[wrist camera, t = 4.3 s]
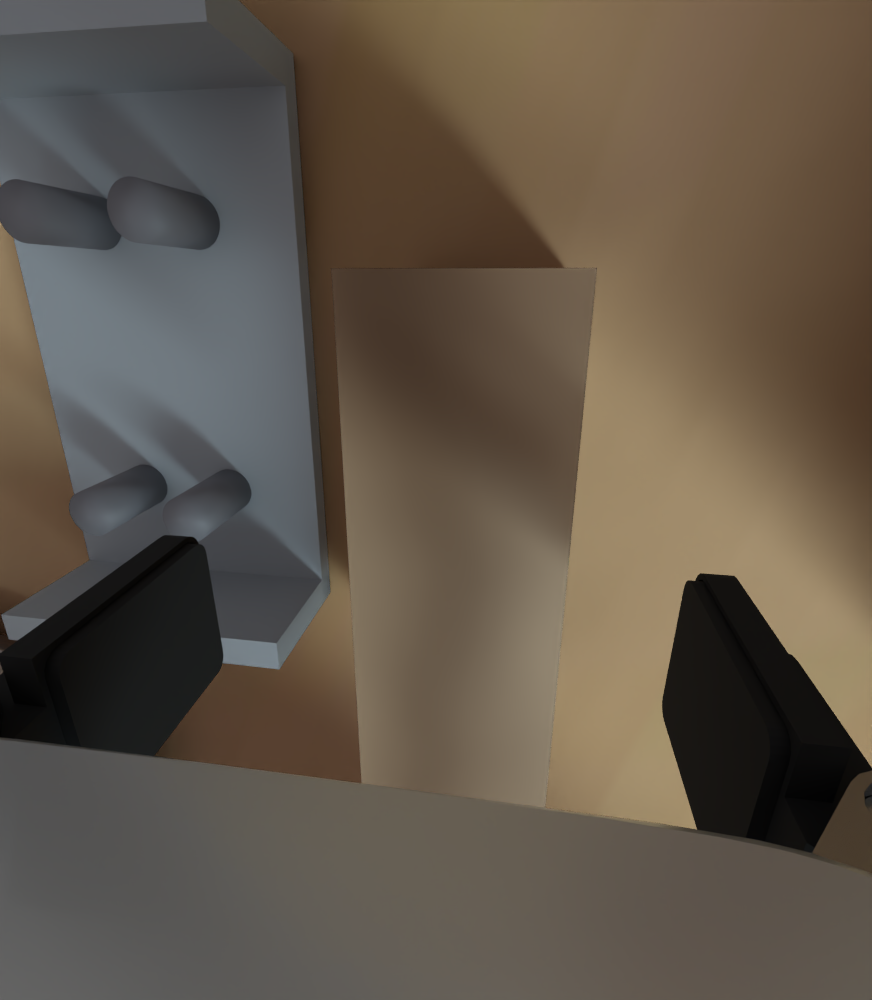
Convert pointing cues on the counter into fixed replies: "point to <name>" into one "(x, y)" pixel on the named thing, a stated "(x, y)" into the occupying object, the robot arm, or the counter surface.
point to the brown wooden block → (460, 515)
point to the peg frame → (170, 296)
